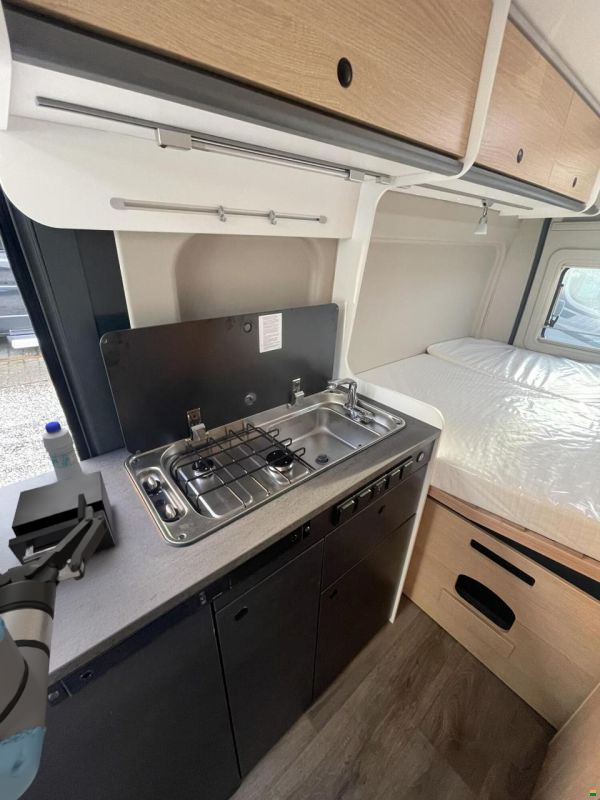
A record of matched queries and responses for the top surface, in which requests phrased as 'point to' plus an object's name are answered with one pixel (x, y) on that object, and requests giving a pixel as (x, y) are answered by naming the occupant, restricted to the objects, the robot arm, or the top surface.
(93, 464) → the top surface
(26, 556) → the oven door
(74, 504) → the oven
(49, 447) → the bottle
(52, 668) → the top surface
